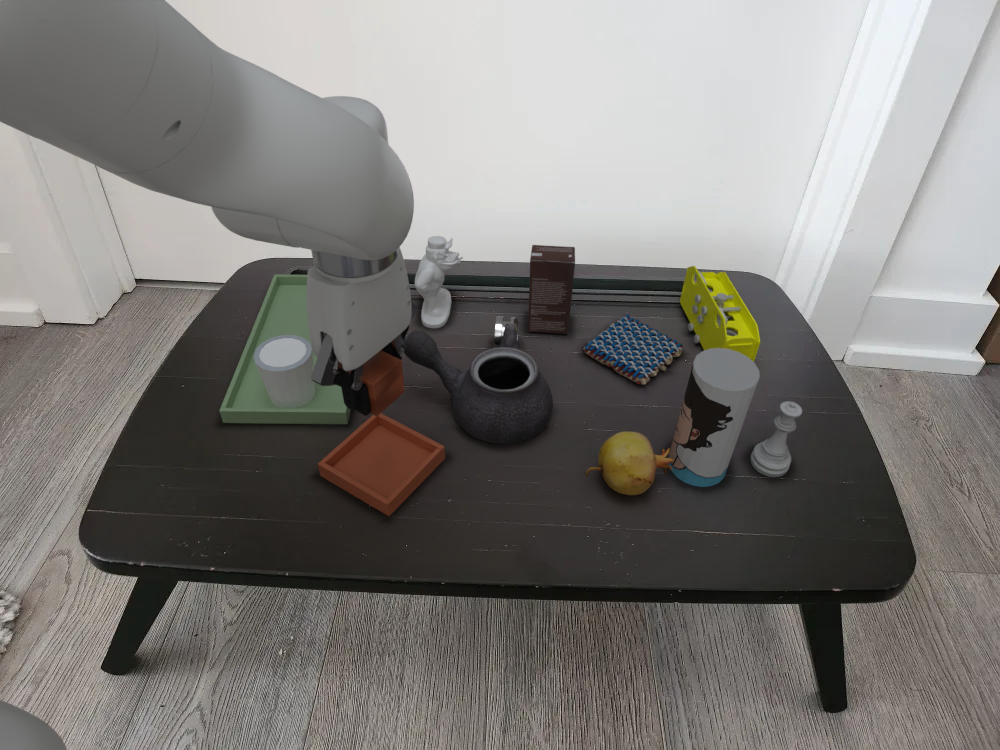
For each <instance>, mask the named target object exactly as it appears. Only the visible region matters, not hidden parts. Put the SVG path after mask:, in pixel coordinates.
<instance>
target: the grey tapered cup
mask: <svg viewBox="0 0 1000 750" xmlns="http://www.w3.org/2000/svg"><path fill="white" fill-rule="evenodd" d="M253 357H254V360H255V363H256V366H257V368H258V370H259V373H260V375H261V378H262V380H263V383H264V385H265V388H266V390H267V393H268V395H269V398H270V400H271V402H272V404H274V405H275V406H276V407H278V408H291V409H296V408H300V407H303V406H304V405H306V404H308V403H309V402H310V401H311V400H312V399H313V398H314V395H315V382H314V381H312V379H311V377H312V373H313V370H314V366H313V353H312V347H311V345H310V342H308V341H307V340H306V339H304V338H303V337H299V336H296V335H281V336H277V337H272V338H270V339H268V340H266V341H264V342H263V343H261V344H260V345H259V346H258V347H257V348H256V350H255V353H254V356H253Z"/></svg>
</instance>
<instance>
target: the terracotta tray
mask: <svg viewBox="0 0 1000 750" xmlns="http://www.w3.org/2000/svg"><path fill="white" fill-rule="evenodd" d="M445 446H446V445H444V444H441V443H439V442H437V441H435V440H433V439H431V438H429V437H427V436H426V435H424V434H422V433H420V432H418V431H416V430H414V429H413V428H410V427H408V426H406V425H405V424H403V423H401V422H399V421H397V420H395V419H393V418H391V417H389V416H388V415H385V414H383V412H382V413H381V414H379V415H378V416H375V415H373V414H371V416H370V417H369V418H368V419H366V420H365V421H364V422H363V423H361V424H360V425H359V427H357V428H356V429H355V430H354V431H353V432H351V434H349V436H347V437H346V438H345V439H344V440H343V441H341V442H340V443H339V444H338V445H337V446H336V447H334V448H333V449H332V450H331V451H330V452H329V453H327V454H326V456H324V457H323V458H322V459H321V460H320V461H319V462H318V463H317V468H318V471H319V476H320V477H322V478H323V479H325V480H326V481H328V482H330V483H332V484H333V485H335V486H337V487H338V488H340V489H342V490H344V491H345V492H346V493H348V494H350V495H352V496H354V497H355V498H357V499H358V500H361V501H362V502H364V503H366V504H367V505H369V506H370V507H372V508H374V509H375V510H377V511H379V512H380V513H382V514H384V515H385V516H387V517H391V515H392V514H393V513H394V512H395V511H396V510H397V509H398V508H399V507H400V506H401V505H402V504H403V503H404V502H405V501H406V500H407V499H408V498H409V497H410V495H412V493H413V492H415V490H417V488H418V487H419V486H421V484H422V483H423V482H424V481H425V480H426V479H427V478H428V477H429V476H430V475H431V474H432V473H433V472H434V471H435V470H436V468H438V467H439V465H441V463H443V461H444V460H445V459H446V447H445Z"/></svg>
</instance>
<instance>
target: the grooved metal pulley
mask: <svg viewBox="0 0 1000 750" xmlns="http://www.w3.org/2000/svg"><path fill="white" fill-rule="evenodd" d="M506 324H514V325H515V326H516V333H517V340H518V337H519V319H518V317H516V316H510V321H508V320H507V321H506V320H505V316H504V315H496V319H495V326H494V337H493V339H494V341H493V348H497V347H499V346H500V343H501V341H502V337H503V333H504V329H505V325H506Z"/></svg>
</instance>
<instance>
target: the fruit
mask: <svg viewBox="0 0 1000 750" xmlns="http://www.w3.org/2000/svg"><path fill="white" fill-rule="evenodd" d="M601 445H602V446H601V447H600V449H599V452H598V457H597V459H598V462H597V464H598V466H590V467H588V468H587V469H586V470H585V471H584V475H585V477H586V478H589V476H590V475H589V474H590V473H591V472H592V471H600V472H601V475H602V479H604V482H605V483H606V485H607V486H608V487H609V488H611V489H612V490H613V491H614V492H616V493H618V494H621V495H626V496H638V495H641V494H643V493H645V492H646V491H648V490H649V489H650V488H651V486H652V485H653V483H654V481H655V477H656V470H657V469H660V468H661V469H662V471H663V473H664V475H665V474H666V473H667V469H669V470H670V471H671V470H673V469H672V468H671V466H669V465H668V464H669V463H671V462H673V461H675V460H673V459H670V458H668V456H669V452H670V449H671V447H668V448H667V449H666V450H665V448H662V452H661V454H655V451H654V449H653V446H652V444H651V442H650V440H649V439H648V437H647V436H646V435H644V434H642V433H641V432H638V431H628V430H627V431H626V430H625V431H619V432H617V433H614V434H613V435H612V436H610V437H608V438H607V439H606V440H605V441H604V442H603V444H601Z"/></svg>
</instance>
